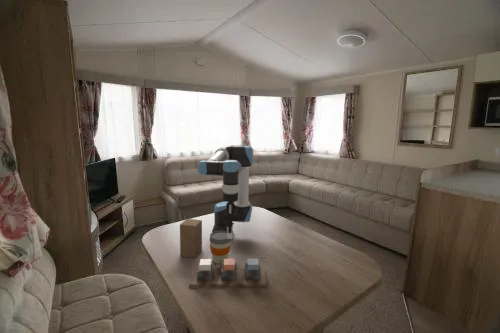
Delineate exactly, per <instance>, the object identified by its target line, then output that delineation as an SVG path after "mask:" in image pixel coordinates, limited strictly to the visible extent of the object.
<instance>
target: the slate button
mask: <svg viewBox="0 0 500 333" xmlns="http://www.w3.org/2000/svg"><path fill="white" fill-rule="evenodd" d="M246 263H247V270H259V264H260V262H259V259H258V258H247V259H246Z"/></svg>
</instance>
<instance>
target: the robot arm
mask: <svg viewBox="0 0 500 333" xmlns="http://www.w3.org/2000/svg"><path fill="white" fill-rule="evenodd" d="M213 153H214V154H213V155H212V156H210V158H209V159H207V160H200V161H199V162H198V164H197V165H198V166H197V172H198V174H199V175H202V176H221V177H222V185H221V188H222V200H223V201H220V202H218V203H216V204H215V205H214V210H213V211H214V223H213V228H212V231H211V233H213V232H215V231H227V239H231V240H232V239H233V235H234V230H233V229H234V225H235V223H234V222H236V223H249V222H250V221H251V219H252V213H253V212H252V211H253V205H251V202H250V201H249V193H250V192H249V188H250V168H251V167H252V164H254V163H255V162H254V161H255V157H254V150H253V147H252V146H251V145H235V144H234V145H232V144H231V145H230V144H229V145H224V146H221V147H219V148H218V149H217V150H215V151H214V152H213Z"/></svg>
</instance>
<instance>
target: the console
mask: <svg viewBox="0 0 500 333" xmlns="http://www.w3.org/2000/svg"><path fill="white" fill-rule="evenodd" d="M199 264H200V262H199V263H198V266H197V269H196V268H195V269H192V270H193V271H192V274H191V277H190V281H189V288H231V287H232V288H233V287H234V288H235V287H237V288H238V287H239V288H242V287H248V288H249V287H252V288H253V287H268V279H267V274H266V271H265V268H261V266H260V263H259V270H247V262H245V263H244V268H237V266H238V265H237V262H235V271H224V263H221V268H215V267H214V265H215V262H212V268H211V271H199Z"/></svg>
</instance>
